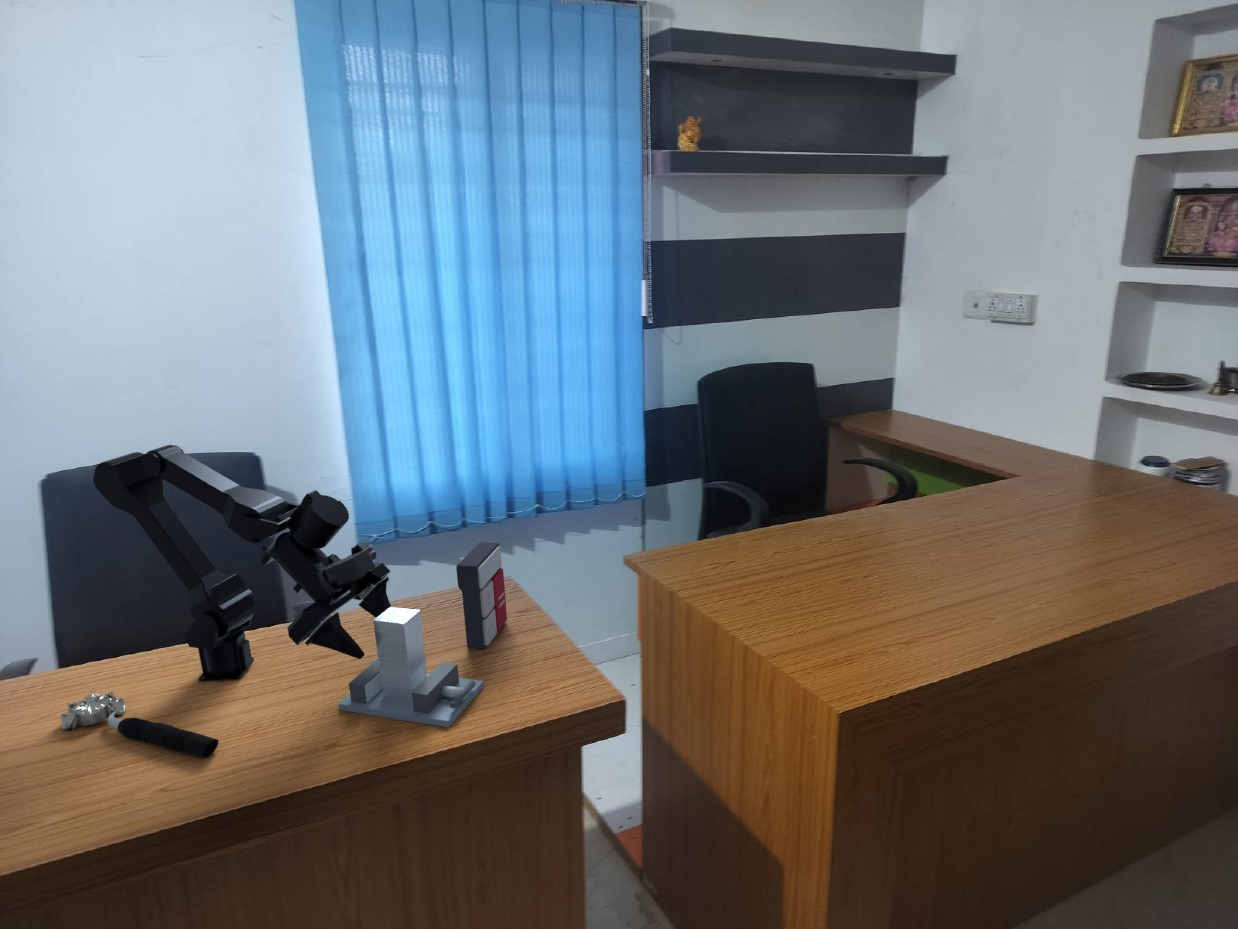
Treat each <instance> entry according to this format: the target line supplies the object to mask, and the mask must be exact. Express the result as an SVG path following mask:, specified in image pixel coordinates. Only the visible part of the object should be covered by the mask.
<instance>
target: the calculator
mask: <svg viewBox="0 0 1238 929" xmlns="http://www.w3.org/2000/svg"><path fill="white" fill-rule="evenodd" d="M502 563H503V562H502V551H501V545H500V544H499V542H484V541H483V542H482V541H481V542H479V543H477V544H476V545H475V546H474V547H473V548H472V550H470V551H469V552H468V553H467V554H466V556H464V558H463V559H461V560H460V561H459V563H458V564H457V565H456V566H455V567H456V568H455V570H456V578H457V587H458V588H459V590H460V591H461V593H462V594H461V596H462V606H463V607H462V608H463V618H464V627H465V628H464V629H465V637H466V639H465V640H466V647H467V649H471V650H473V649H474V650H485V649H486V647H489V645H490V644H491V642H492V641H493V640H494V639H495V637H496V636H497V633H498V632H499V631H500V630H501V629H502V628H503V626H504V624H505V623H506V622H507V619H508V614H507V600H506V590H505V575H504V574H505V573H504V568H502V565H503V564H502Z"/></svg>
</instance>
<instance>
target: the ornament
mask: <svg viewBox="0 0 1238 929" xmlns="http://www.w3.org/2000/svg"><path fill="white" fill-rule="evenodd" d="M66 706H67V707H68V708H67V711H66V713H65V712H62V713H61V714H60V718H61V719H60V721H61V729H62V730H63V731H67V730H69V729H72V730H74V729H76V728H77V727H78V726H92V725H94V724H98V723H101V722H102V721H105V720H107V719H108V717H109V716H110V715H111V714H112V713H114V712H115V711H117V712H116V713H115V714H114V718H116V717H117V716H119V715H120V716H122V715H124V714H125V712H126V704H125V700H124V698H123V697H119V698H117V697H116V695H115V693H114V691H110V692H108V693H106V694H101V695H100V694H99V693H91V694H88V695H86V696H84V698H83V699H82V700H79V701H77V702H75V701H74V702H69V703H67V704H66Z"/></svg>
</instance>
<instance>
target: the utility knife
mask: <svg viewBox="0 0 1238 929" xmlns="http://www.w3.org/2000/svg"><path fill="white" fill-rule="evenodd" d="M116 712H117V711H115V712H114V713H112V714H111V715H110V716H109V717H107V723H108V725H109V726H110V727H112V729H115V730H116V731H117V732H118V733H119V734H120V735H122V737H124V738H127V739H130V740H134V741H138V742H141V743H145V744H148V745H152V746H157V747H160V748H164V749H166V750H172V751H176V752H179V753H183V754H187V755H192V756H197V757H201V758H202V757H203V758H208V757H209V756H211V755H212V754H214V752H215V751H216V749H217V748H218V746H219V740H218V738H217V739H216V738H214V737H210V736H207V735H203V734H201V733H197V732H193V731H189V730H186V729H181V728H178V727H176V726H173V725H172V724H171V725H170V724H168V723H165V722H164V723H163V722H155V721H151V720H146V719H143V718H138V717H126V718H116V717H114V714H115V713H116Z"/></svg>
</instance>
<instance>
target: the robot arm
mask: <svg viewBox="0 0 1238 929" xmlns="http://www.w3.org/2000/svg"><path fill="white" fill-rule="evenodd" d="M93 473H94V474H93V477H92V479H93V480H92V482H93V485H94V487H95V489H96V490H97V491H98V493H100V494H101V496H102V497H103V498H104V499H105V500H106V501H107V502H108V503H109V504H110V505H111V506H112V507H115V508H116V509H118V510H120V511H122V512H124V513H127V514H129V515H132V516H133V518H134V519H135V520H136V521H137V523H138V524H139V525H140V526H141V528H142V529H143V531H144V532H145V534H146V535H147V537H148V538H149V539H150V541H152V543H153V544H154V546H155V547H156V548H157V550H158V551H159V552H160V554H161V556H162V557H163V558H164V559H165V561H166V563H167V564H168V565H169V567H170V568H171V570H172V571H173V572H174V573H175V574H176V576H177V577H178V578H179V580H180V581H181V583H182V584H183V585H184V587H185V588H186V589H187V591H188V603H189V612H190V614H191V616H192V617H193V619H194V622H193V623H192V624H191V626H190V627H189V628H188V629H187V630H186V632H185V633H184V634H183V636H184V639H185V641H186V642H187V645H188V646H189V648H194V649H197V650H198V656H199V661H200V664H201V670H202V673H201V674H200V675H199V676H198V678H197V679H198V682H217V681H220V682H221V681H233V680H234V681H235V680H239V679H242V677H243V675H244V674H245V673H246V672H247V670H248V669H249V667H250V666H251V665H252V663H253V662H254V660H255V657H253V656H252V651H251V645H250V641H249V639H246V634H245V629H247V628H250V627H251V624H252V621H253V620H252V619H253V618H254V615H255V612H256V609H255V608H256V606H257V605H256V600H255V599H254V597H253V594H254V592H253V591H252V590H251V589H250V588H248V586H247V585H246V583H245V582H244V580H243V579H242V577H241V576H240V575H238V573H235V574H232V575H231V576H228V575H226V574H223V573H222V572H219V570H218V569H217V568H216V566H215V565H214V564H213V563H212V561H211V560H210V558H209V557H208V556H207V555H206V553H205V551H204V550H203V549H202V547H201V546H200V545H199V544H198V542H197V540H195V537H194V536H193V535H192V534H191V533H190V530H188V529H187V527H186V526H185V524H184V523H183V521H182V520H181V518H180V517H179V516H178V515H177V513H176V512H175V510H174V509H173V508H172V506H171V505H170V503H169V502H168V501H167V500H166V498H165V483H164V481H165V482H167V483H169V484H170V485H172V486H173V487H175V488H177V489H178V490H180V491H182V492H184V493H185V494H187V495H188V496H190V497H192V498H194V499H196V500H197V501H198V502H200V503H202V504H204V505H205V506H207V507H209V508H211V509H212V510H214V511H216V512H217V513H219V515H221V516H222V517H223V519H224V522H225V524H226V527H227V528H228V529H229V530H231V531H232V532H233V533H234V534H236V535H237V536H238V537H239V538H240V539H242V540H243V541H245V543H248V544H252V545H256V544H258V543H263V542H264V541H267V540H268V539H270V538H272V537H274V536H276V535H277V537H276V539H274V541H271V542H268V543H267V544H264V545H263V546H261V551H262V553H261V564H262V565H263V566H266V565H268V564H270V563H272V562H273V561H275V562H276V564H278V565H279V567H280V568H282V569H283V571H284V572H285V573H286V575H288V576H289V577H290V578H291V579H292V580H293V581H294V582H295V583H296V584H295V586H293V588H292V589H293V590H294V591H295V593H296V594H299V593H300V592H302V591H303V592H304V593H305V594H307V596H308V597H309V598H310V599H311V600H312V601H313V603H311V604H310V605H309V606H307V607H305V608H304V609H303V610H302V611H301V612H299V614H298V615H297V616H296V617H295V618H294V620H293V621H292V622H291V623H290V624H289V625H288V627H287V632H288V634H287V636H288V637H289V638H290V640H292V642H294V644H295V645H296V646H299V645H300V644H301V643H303V642H304V644H305V646H309V645H310V644H311V645H312V644H313V645H315V646H318V647H323V648H325V649H329V650H333V651H336V652H338V653H341V654H344V655H346V656H349V657H352V658H354V659H358V660H361V659H362V658H364V657H365V652H364V651H363V649H362V648H361V647H360V645H359V644H358V643H357V642H356V640H355V639H354V638H353V637H352V636H351V635H350V634H349V632H347V630H346V629H345V628H344V627H343V626H342V623H341V619H340V613H339V612H338V610H340V608H342V607H344V606H345V605H346V604H347V603H349V602H351V601H353V600H357V601H360V602H359V604H358V606H359V607H360V608H362V609H363V610H364V611H366V612H367V613H368V614H370V615H371V616H372V617H374V619H375V618H377V617H378V616H379V615H381V614H382V613H383V612H384V611H386V610H387V609H388V608H390V607H392V604H391V603H390V600H389V597H388V594H387V584H388V582H389V580H390V578H389V576H388V575H390V573H391V572H392V571H391V570H390V568H388V567H387V566H386V565H385V563H384V562H379V561H375V560H376V559H377V552H376V551H375V550H374V548H373V547H372V546H370V545H369V543H367V542H366V541H365V540H364V541H362V542H360V543H357V544H356V545H354V546H353V547H351V549H350V551H351V554H350V555H348V556H346V557H344V558H342V559H341V558H340V557H339V556H338V555H337V554H334V553H332V554H330V555H327V554H326V553H324V551H323V550H322V549H324V548H325V547H327V546H328V544H329V543H330V542H331V541H332V540H333V539H334V537H335V536H336V535H337V534H338V533H339V531H340V530H342V529H343V527H344V526H345V525H346V524H347V522H349V519H350V514H349V511H348V508H347V507H346V506H345V504H344V503H343V502H342V501H341V500H337V499H336V498H335V497H332V496H329V495H325V494H321V493H320V492H319V491H318V490H316V489H314V490H312V491H310V492H308V493H306V494H305V496H304V497H302V500H301V502H300V504H298V503H293V502H289V501H286V500H285V499H284V498H282V497H281V496H279V495H277V494H274V493H272V492H269V491H266V490H263V489H259V488H258V489H257V488H250V487H245V486H242V485H240V484H238V483H237V482H235V481H233V480H231V479H229V478H228V477H226V476H224V475H223V474H221V473H219V472H217V471H216V470H214V469H212V467H211V468H210V467H209V466H208V465H206V464H204V463H202V462H200V461H198V460H197V459H195V458H194V457H192V456H190V455H189V454H187V453H185V451H184V450H183V449H182V448H181V447H180V446H178V445H173V444H167V445H162V446H161V447H157V448H155V449H152V450H148V451H147V452H146V453H143V452H139V451H137V452H136V451H135V452H131V453H128V454H125V455H120V456H117V457H114V458H111V459H108V460H105V461H102V462H100V463H98V464H97V465H96V467H95V469H94V472H93ZM286 529H288V530H289V531H285V530H286ZM283 531H285V532H283ZM282 532H283V533H282ZM279 533H280V534H279ZM278 534H279V535H278ZM374 561H375V562H374ZM361 600H362V601H361ZM336 611H337V612H336ZM333 613H334V614H333ZM332 614H333V615H332ZM305 640H306V641H305Z"/></svg>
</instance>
